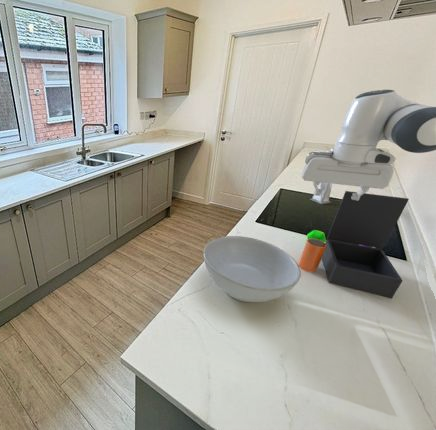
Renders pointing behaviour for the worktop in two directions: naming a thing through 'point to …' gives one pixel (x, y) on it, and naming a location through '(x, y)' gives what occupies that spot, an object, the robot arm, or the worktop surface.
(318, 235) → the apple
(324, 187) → the skyscraper
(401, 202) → the box lid
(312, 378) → the worktop surface
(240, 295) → the decorative bowl
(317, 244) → the cup
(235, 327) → the worktop surface
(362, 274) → the black box
